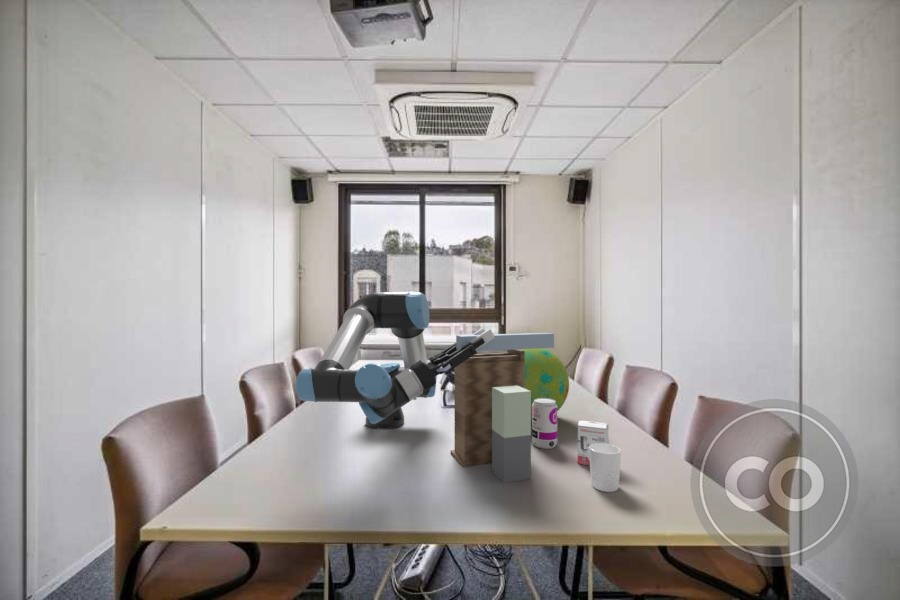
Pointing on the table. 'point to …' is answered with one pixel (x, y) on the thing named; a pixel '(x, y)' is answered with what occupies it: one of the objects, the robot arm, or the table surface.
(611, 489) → the white cup
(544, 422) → the supplement can
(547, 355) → the globe
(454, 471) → the table surface
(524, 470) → the lower block
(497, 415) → the upper block
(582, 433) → the ink box
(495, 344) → the pale blue bar
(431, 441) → the table surface
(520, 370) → the stand
